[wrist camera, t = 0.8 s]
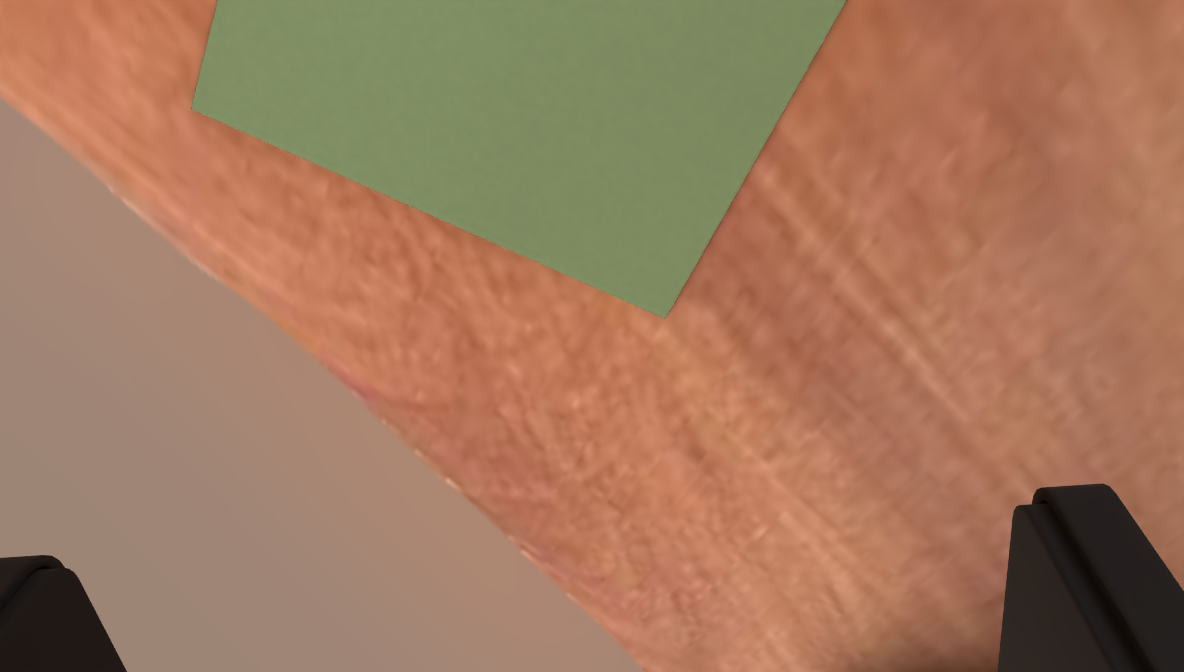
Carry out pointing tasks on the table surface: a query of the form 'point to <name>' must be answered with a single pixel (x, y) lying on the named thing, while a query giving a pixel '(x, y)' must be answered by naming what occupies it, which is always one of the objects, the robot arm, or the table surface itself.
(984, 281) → the table surface
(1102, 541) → the robot arm
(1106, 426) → the table surface
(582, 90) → the green cloth
